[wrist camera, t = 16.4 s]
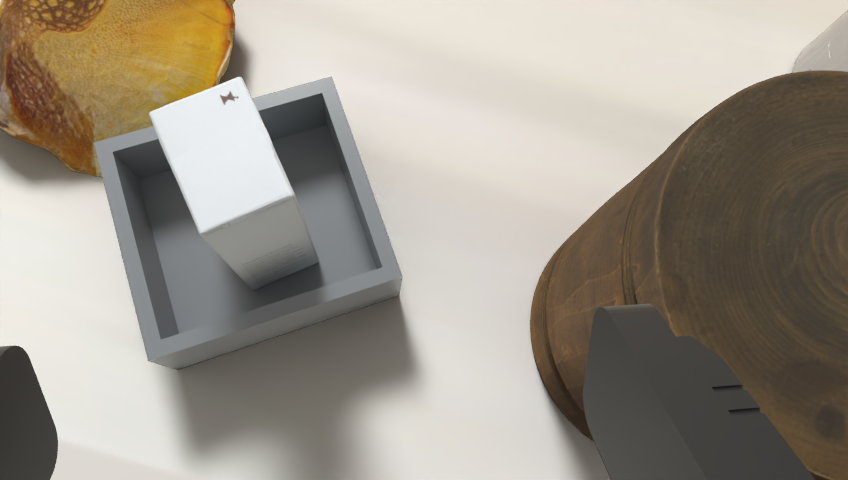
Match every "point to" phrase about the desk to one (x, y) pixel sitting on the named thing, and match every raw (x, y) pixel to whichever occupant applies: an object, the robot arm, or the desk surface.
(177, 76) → the seashell
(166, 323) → the box
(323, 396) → the desk surface
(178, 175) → the skincare box
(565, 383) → the wooden container
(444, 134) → the desk surface
